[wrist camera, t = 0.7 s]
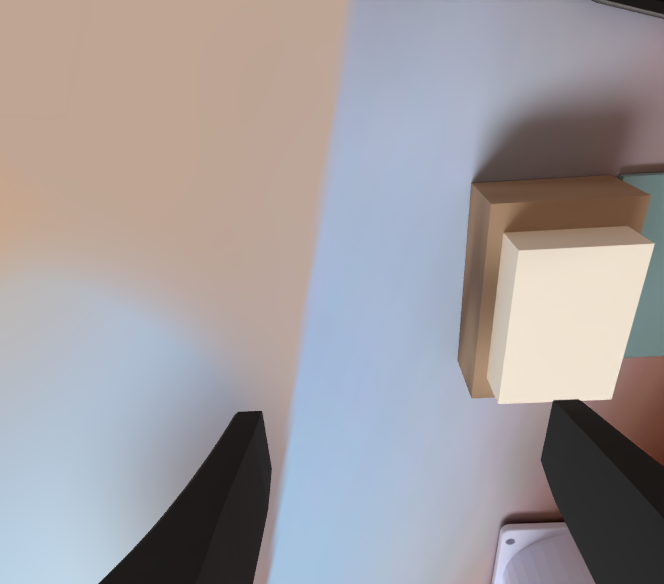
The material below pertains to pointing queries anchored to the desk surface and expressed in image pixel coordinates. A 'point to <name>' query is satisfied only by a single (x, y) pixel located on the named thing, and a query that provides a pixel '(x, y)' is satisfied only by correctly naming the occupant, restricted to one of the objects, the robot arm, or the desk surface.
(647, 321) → the mat
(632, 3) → the phone
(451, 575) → the desk surface
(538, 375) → the cream rectangular block
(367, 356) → the desk surface
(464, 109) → the desk surface
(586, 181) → the block
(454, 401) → the desk surface
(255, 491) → the robot arm
